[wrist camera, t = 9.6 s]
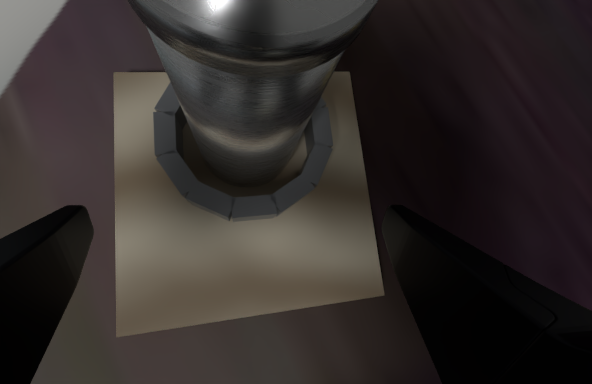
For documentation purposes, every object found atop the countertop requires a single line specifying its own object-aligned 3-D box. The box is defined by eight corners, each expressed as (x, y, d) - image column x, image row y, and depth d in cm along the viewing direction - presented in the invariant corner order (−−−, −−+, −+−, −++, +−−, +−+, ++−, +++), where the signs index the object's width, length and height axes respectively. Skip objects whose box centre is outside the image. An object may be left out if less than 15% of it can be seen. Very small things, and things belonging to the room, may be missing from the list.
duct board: (376, 292, 18) (384, 295, 17) (124, 331, 16) (116, 337, 15) (344, 79, 21) (349, 71, 20) (120, 81, 18) (113, 72, 17)
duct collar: (331, 212, 18) (342, 207, 16) (167, 228, 16) (157, 225, 14) (312, 71, 19) (320, 51, 17) (161, 72, 17) (151, 49, 15)
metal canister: (309, 166, 18) (449, -11, 6) (222, 206, 17) (167, 85, 4) (269, 86, 18) (318, -228, 6) (181, 119, 17) (33, -198, 5)
